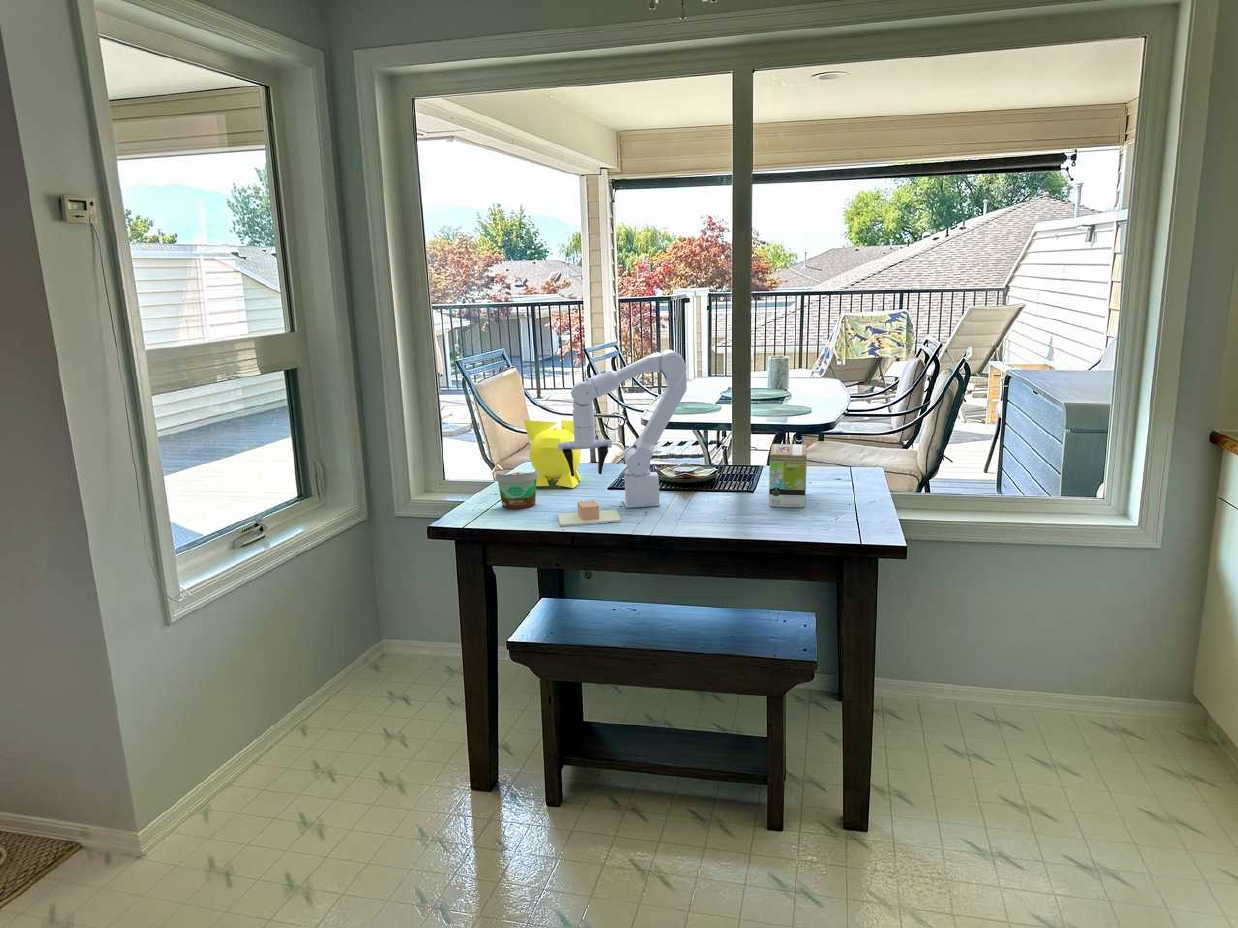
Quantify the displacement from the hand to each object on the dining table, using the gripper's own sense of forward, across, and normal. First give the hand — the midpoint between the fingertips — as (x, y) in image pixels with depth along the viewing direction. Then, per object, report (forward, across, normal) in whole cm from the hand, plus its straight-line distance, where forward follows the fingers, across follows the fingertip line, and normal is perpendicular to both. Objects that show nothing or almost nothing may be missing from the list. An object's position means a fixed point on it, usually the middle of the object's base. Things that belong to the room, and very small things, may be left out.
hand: (586, 474), depth 242 cm
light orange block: (+9, +1, +11) cm, 14 cm away
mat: (+9, +1, +11) cm, 15 cm away
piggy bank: (+10, +6, -31) cm, 33 cm away
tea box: (+10, -55, +8) cm, 56 cm away
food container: (+10, +19, -5) cm, 22 cm away
